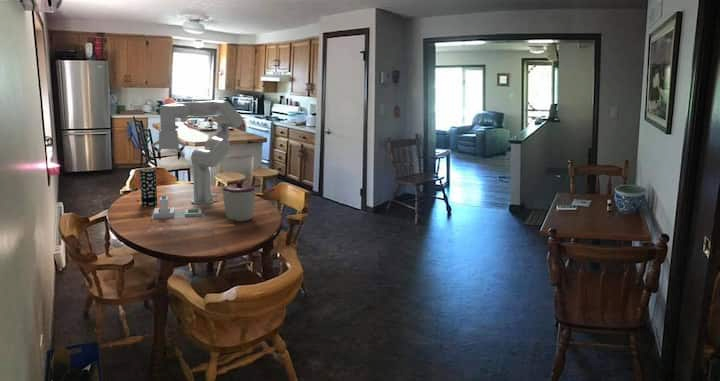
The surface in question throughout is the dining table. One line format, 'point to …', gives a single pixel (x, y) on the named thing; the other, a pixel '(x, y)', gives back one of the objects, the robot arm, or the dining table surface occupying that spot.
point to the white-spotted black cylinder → (148, 187)
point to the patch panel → (177, 213)
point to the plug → (164, 204)
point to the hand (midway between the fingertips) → (169, 159)
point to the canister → (239, 201)
